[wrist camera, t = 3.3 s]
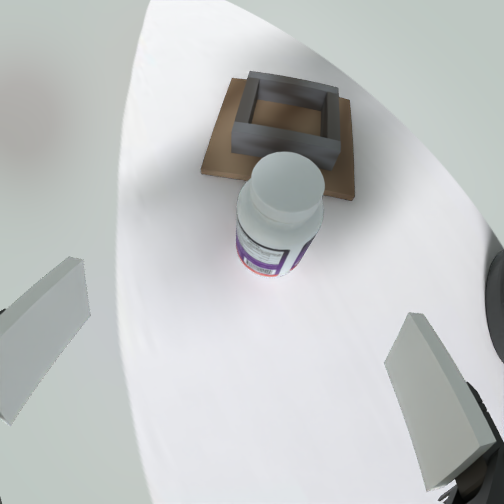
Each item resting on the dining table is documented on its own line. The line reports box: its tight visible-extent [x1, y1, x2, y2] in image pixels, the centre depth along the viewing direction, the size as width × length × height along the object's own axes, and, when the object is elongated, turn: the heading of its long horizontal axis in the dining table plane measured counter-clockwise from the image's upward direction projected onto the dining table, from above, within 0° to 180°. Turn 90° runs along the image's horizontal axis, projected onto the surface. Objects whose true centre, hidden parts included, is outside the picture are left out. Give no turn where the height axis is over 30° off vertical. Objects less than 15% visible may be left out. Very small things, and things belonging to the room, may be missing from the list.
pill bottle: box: [236, 152, 325, 278], centre depth 20 cm, size 5×5×10 cm
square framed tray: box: [201, 71, 355, 201], centre depth 28 cm, size 14×14×4 cm
